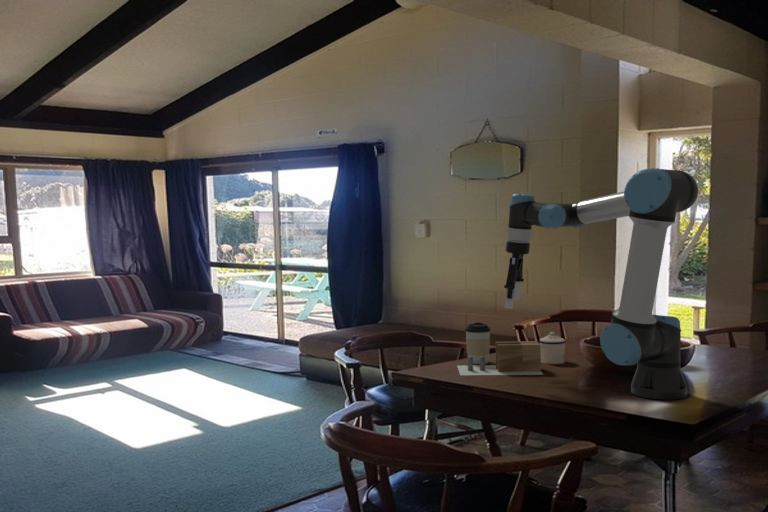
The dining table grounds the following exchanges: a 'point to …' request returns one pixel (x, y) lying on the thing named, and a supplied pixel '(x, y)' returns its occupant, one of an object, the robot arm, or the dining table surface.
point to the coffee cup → (478, 341)
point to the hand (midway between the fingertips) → (512, 304)
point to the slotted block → (518, 356)
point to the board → (487, 369)
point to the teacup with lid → (552, 349)
